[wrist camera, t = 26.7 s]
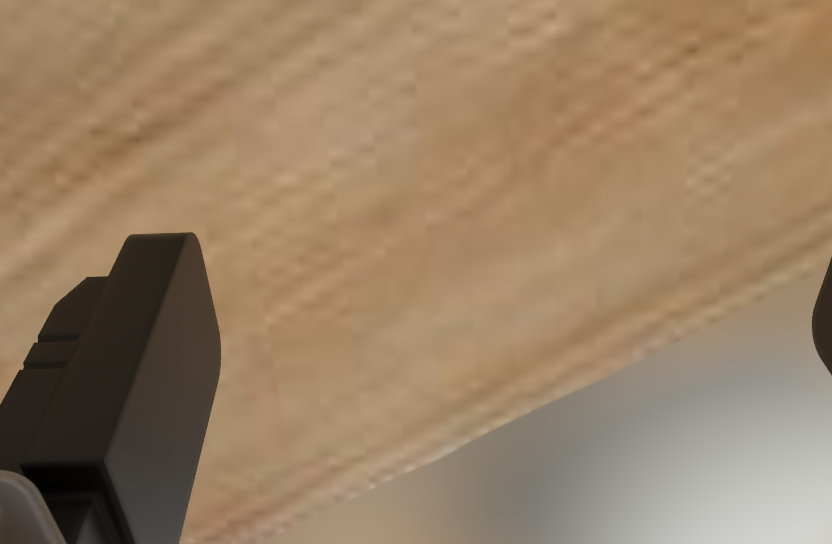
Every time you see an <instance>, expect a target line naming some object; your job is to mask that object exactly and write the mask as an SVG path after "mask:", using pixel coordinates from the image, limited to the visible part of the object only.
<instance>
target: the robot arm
mask: <svg viewBox="0 0 832 544" xmlns="http://www.w3.org/2000/svg"><path fill="white" fill-rule="evenodd" d="M812 332H813V339H814V344H815V347H816V350H817V352H818V354H819V356H820V358H821V360H822V361H823V363H824V364H825V365H826V367H827V369H828V370H829V372H830V373H831V375H832V258H831V261H830V264H829V266H828V269H827V272H826V275H825V278H824V281H823V284H822V287H821V289H820V292H819V295H818V298H817V301H816V304H815V307H814V310H813V316H812ZM23 364H24V369H23V370H19V372H18V373H17V375H16V377H15V379H14V381H13V383H12V384H11V386H10V388H9V390H8V392H7V394H6V395H5V397H4V399H3V401H2V403H1V405H0V544H179V540H180V536H181V532H182V528H183V524H184V519H185V515H186V511H187V507H188V503H189V499H190V495H191V491H192V487H193V483H194V479H195V474H196V470H197V466H198V462H199V458H200V454H201V450H202V446H203V442H204V438H205V433H206V429H207V425H208V421H209V417H210V413H211V409H212V405H213V401H214V397H215V393H216V388H217V384H218V380H219V375H220V366H221V342H220V333H219V328H218V323H217V318H216V314H215V309H214V305H213V300H212V296H211V291H210V287H209V282H208V278H207V273H206V269H205V264H204V260H203V255H202V251H201V247H200V244H199V241H198V239H197V237H196V235H195V234H194V233H192V232H188V233H161V234H133V235H130V236H129V237H128V238H127V239H126V241H125V242H124V244H123V247H122V249H121V251H120V253H119V255H118V257H117V259H116V261H115V263H114V265H113V267H112V270H111V272H110V274H109V276H104V277H87V278H86V279H84V280H83V281H82V282H81V283H80V284H79V285H77V286H76V287H75V288H74V289H73V290H72V291H70V292H69V293H68V294H67V295H66V296H65V297H63V298H62V299H61V300H60V301H59V302H58V303H56V304H55V306H54V307H53V309H52V311H51V313H50V315H49V317H48V318H47V320H46V322H45V324H44V326H43V328H42V329H41V331H40V333H39V335H38V343H34V344H33V346H32V348H31V350H30V351H29V353H28V355H27V357H26V359H25V361H24V362H23Z"/></svg>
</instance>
